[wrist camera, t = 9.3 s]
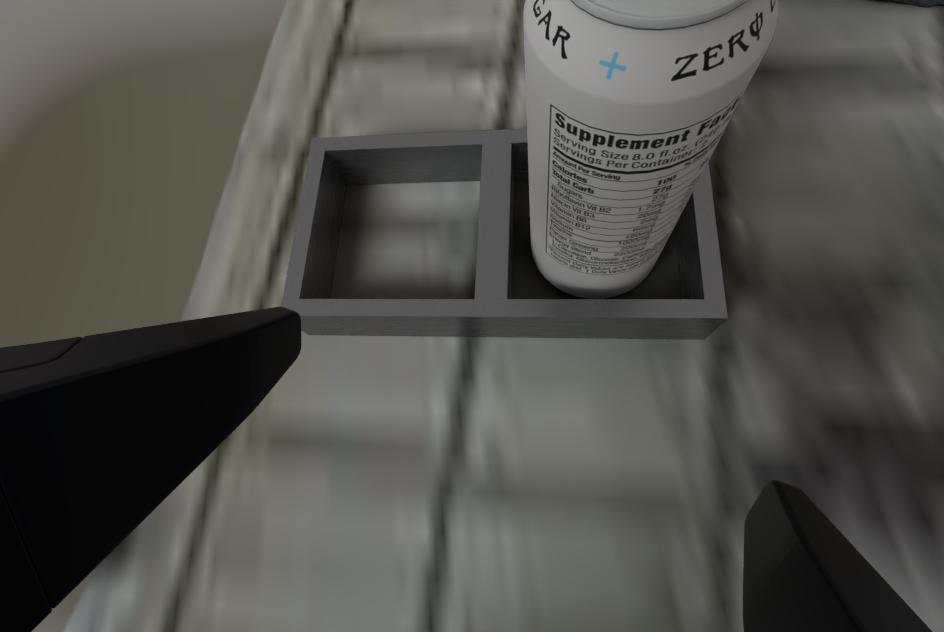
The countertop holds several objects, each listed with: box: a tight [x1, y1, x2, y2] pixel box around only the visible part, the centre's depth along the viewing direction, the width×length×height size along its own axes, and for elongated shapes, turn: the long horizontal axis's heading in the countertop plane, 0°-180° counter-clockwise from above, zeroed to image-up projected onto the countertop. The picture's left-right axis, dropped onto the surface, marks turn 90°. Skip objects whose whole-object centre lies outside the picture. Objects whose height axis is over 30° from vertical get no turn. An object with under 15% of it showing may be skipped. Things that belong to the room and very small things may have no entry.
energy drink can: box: [523, 0, 778, 299], centre depth 18 cm, size 6×6×15 cm
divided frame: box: [281, 129, 728, 339], centre depth 24 cm, size 10×19×3 cm, turn 87°
